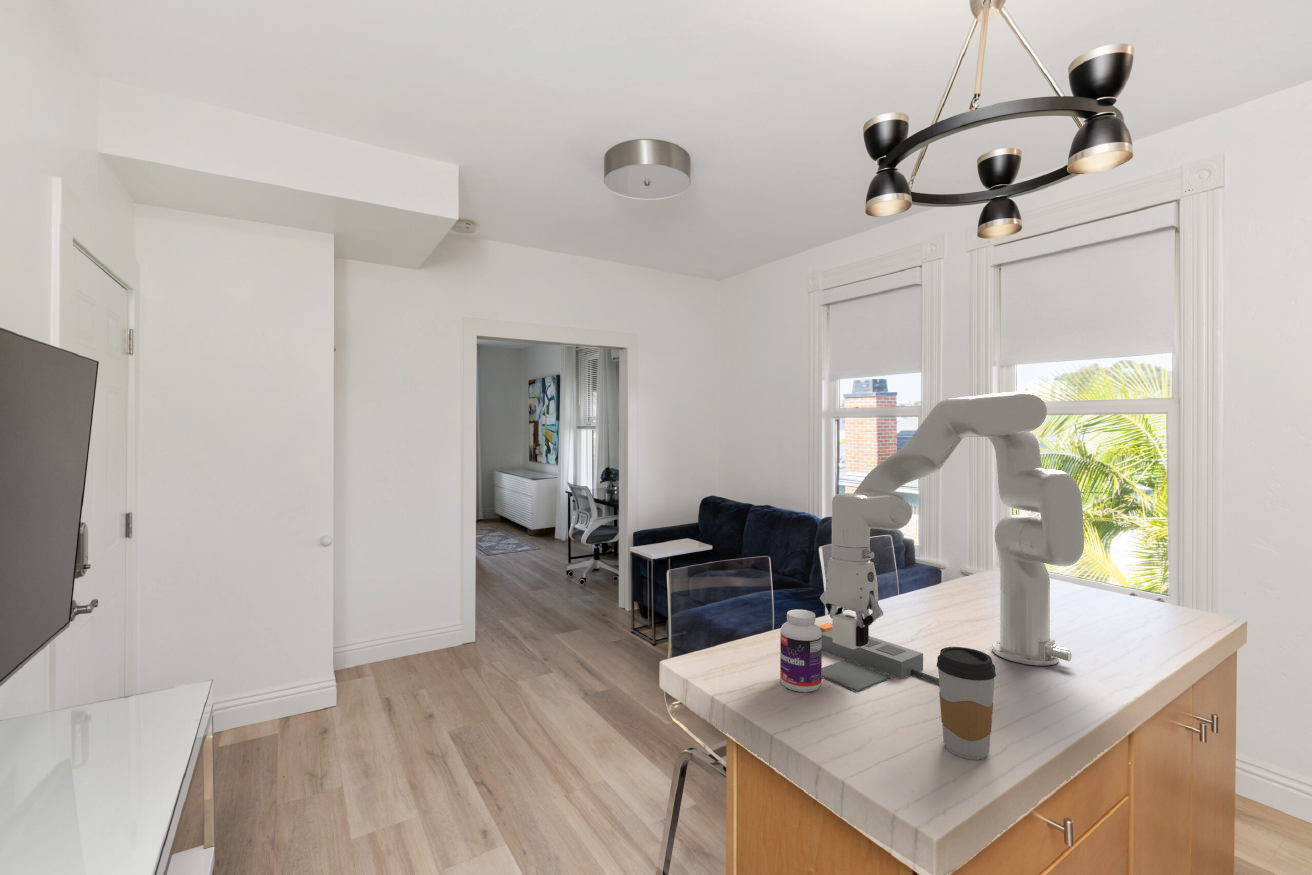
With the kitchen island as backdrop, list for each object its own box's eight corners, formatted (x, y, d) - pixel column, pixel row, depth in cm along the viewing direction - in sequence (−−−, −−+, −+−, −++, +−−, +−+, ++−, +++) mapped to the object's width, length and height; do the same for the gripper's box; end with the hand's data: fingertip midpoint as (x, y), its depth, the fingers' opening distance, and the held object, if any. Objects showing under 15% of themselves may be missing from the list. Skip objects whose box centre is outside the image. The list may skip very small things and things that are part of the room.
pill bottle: (771, 683, 116) (771, 612, 116) (797, 673, 121) (797, 604, 121) (804, 698, 109) (804, 622, 109) (830, 686, 114) (830, 614, 114)
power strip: (981, 689, 113) (981, 668, 112) (960, 700, 108) (960, 678, 108) (830, 637, 142) (830, 620, 142) (808, 644, 137) (808, 626, 137)
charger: (867, 644, 119) (868, 617, 119) (852, 649, 116) (853, 621, 116) (847, 637, 123) (847, 611, 123) (832, 642, 120) (832, 615, 120)
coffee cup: (989, 740, 94) (989, 648, 94) (1002, 768, 86) (1002, 668, 86) (933, 732, 97) (933, 643, 97) (940, 758, 89) (940, 661, 89)
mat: (890, 678, 118) (890, 676, 118) (857, 692, 112) (857, 690, 112) (845, 661, 127) (845, 659, 127) (812, 673, 121) (812, 671, 121)
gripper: (898, 558, 115) (898, 649, 115) (828, 545, 128) (828, 626, 128) (876, 563, 110) (875, 657, 110) (806, 548, 124) (805, 632, 124)
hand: (850, 640), depth 119 cm, fingers closed on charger, 4 cm apart
